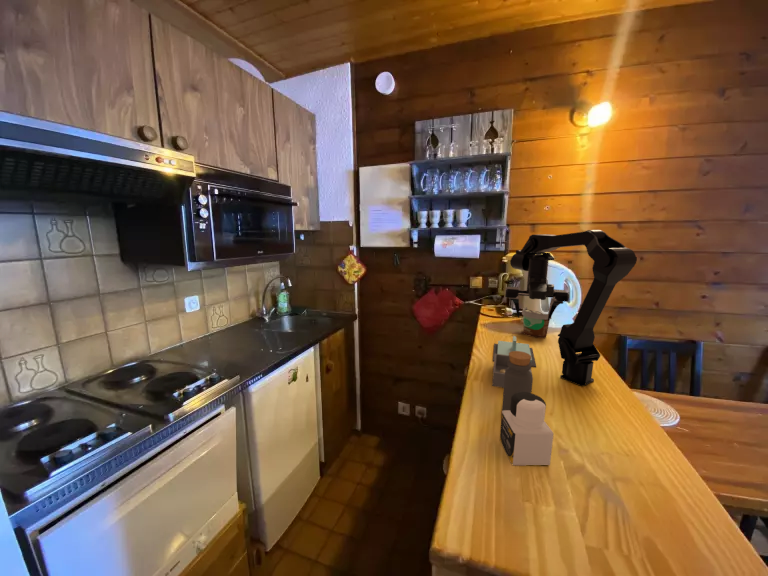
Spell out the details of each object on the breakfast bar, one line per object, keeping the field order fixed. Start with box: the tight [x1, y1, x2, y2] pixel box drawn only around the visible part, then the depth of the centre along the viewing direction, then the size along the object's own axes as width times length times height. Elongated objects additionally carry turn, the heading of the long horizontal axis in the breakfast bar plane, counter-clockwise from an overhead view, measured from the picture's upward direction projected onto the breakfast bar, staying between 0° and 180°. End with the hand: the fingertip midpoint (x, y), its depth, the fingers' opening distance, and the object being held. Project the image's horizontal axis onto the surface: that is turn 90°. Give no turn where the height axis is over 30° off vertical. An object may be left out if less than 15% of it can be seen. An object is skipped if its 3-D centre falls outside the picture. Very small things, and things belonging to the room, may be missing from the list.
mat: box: [492, 343, 537, 368], centre depth 108 cm, size 16×13×1 cm
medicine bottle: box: [499, 392, 554, 466], centre depth 61 cm, size 7×7×12 cm
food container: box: [521, 306, 552, 339], centre depth 127 cm, size 12×6×10 cm, turn 25°
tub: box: [491, 354, 534, 393], centre depth 92 cm, size 14×10×4 cm
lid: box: [497, 335, 532, 362], centre depth 108 cm, size 14×10×6 cm
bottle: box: [501, 351, 533, 412], centre depth 73 cm, size 6×6×15 cm
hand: (533, 318), depth 106 cm, fingers open, 9 cm apart
